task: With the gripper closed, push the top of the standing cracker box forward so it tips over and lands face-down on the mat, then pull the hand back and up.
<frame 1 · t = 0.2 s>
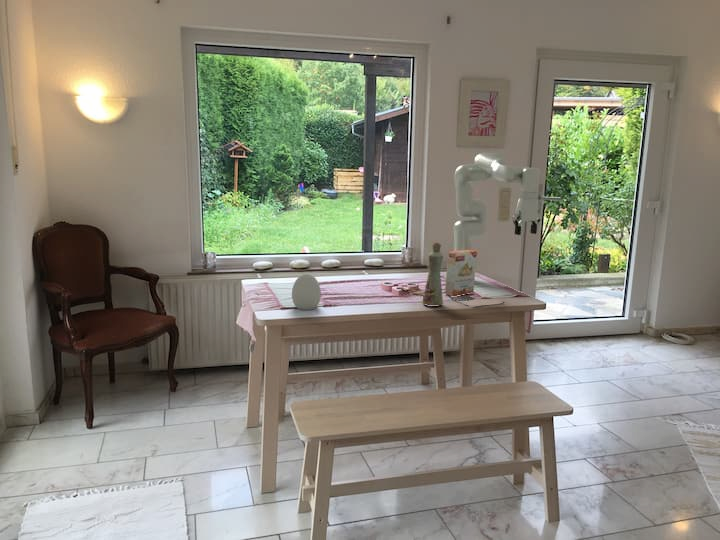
hand: (525, 234, 269), 31 cm above the table, tool pointing down, fingers open, 9 cm apart
cracker box: (459, 295, 283), on the table
mat: (476, 301, 272), on the table
bottle: (432, 305, 263), on the table
decorative egg: (306, 307, 253), on the table
turner: (417, 293, 283), on the table
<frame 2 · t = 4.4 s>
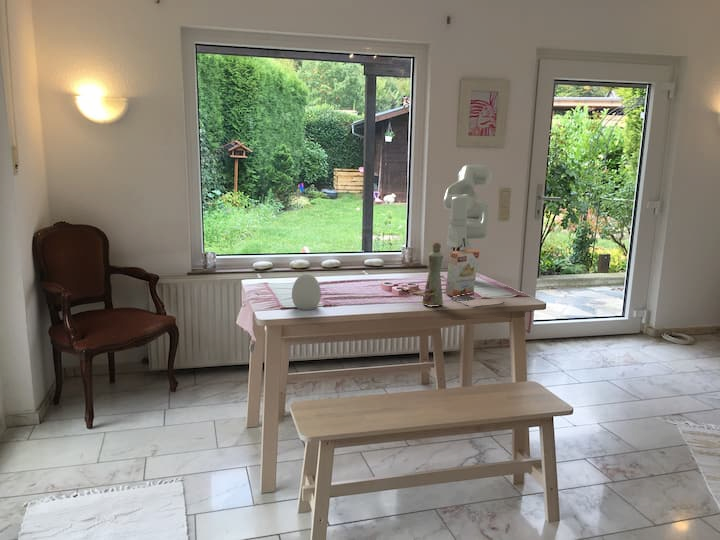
hand: (455, 261, 284), 15 cm above the table, tool pointing down, fingers closed
cracker box: (459, 294, 283), on the table, touching gripper
everything else where it was.
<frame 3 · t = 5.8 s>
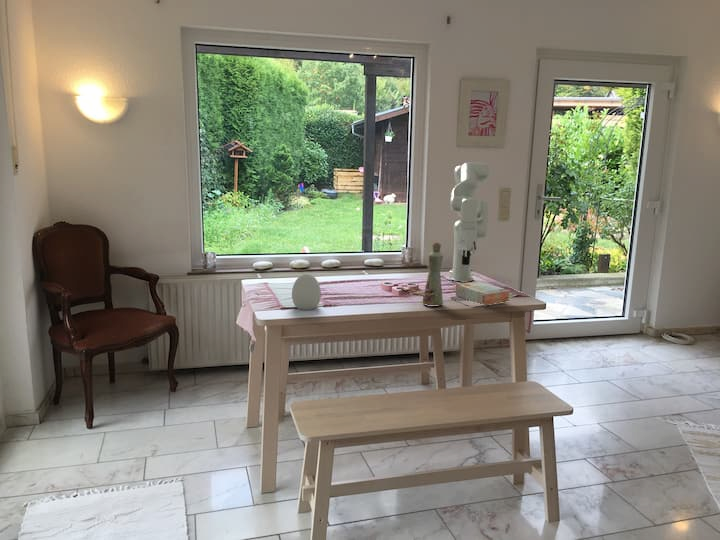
hand: (465, 264, 277), 15 cm above the table, tool pointing down, fingers closed
cracker box: (466, 288, 281), point 4 cm above the table, touching mat
everything else where it was.
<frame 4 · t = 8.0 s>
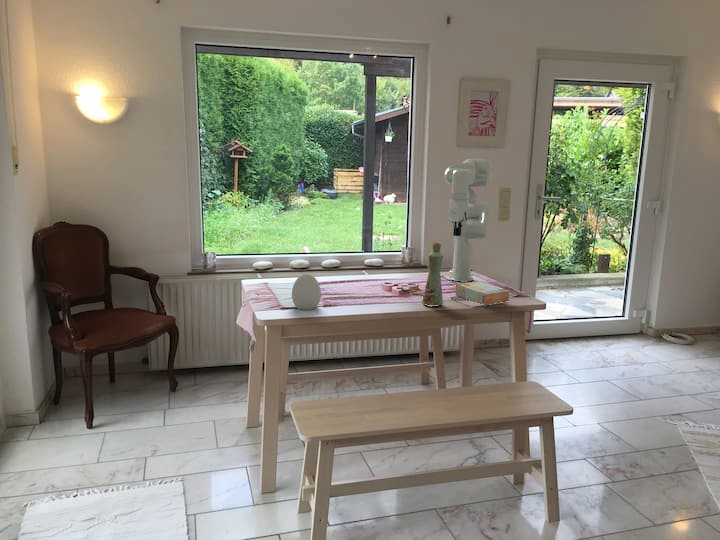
hand: (457, 235, 282), 27 cm above the table, tool pointing down, fingers closed
nothing on the table moved.
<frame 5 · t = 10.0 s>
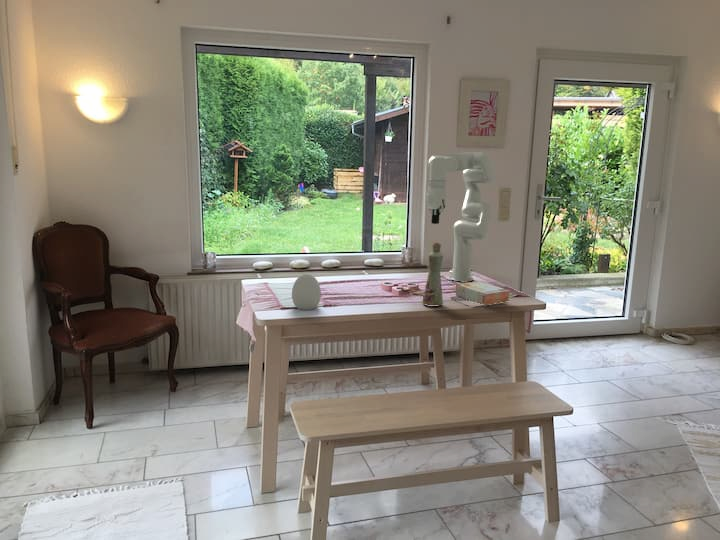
hand: (435, 223, 279), 33 cm above the table, tool pointing down, fingers closed
nothing on the table moved.
at the end: cracker box tilted 89°; cracker box inside the target area (12.3 cm from its centre), point 3.6 cm above the table; turner moved 0.1 cm from its start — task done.
